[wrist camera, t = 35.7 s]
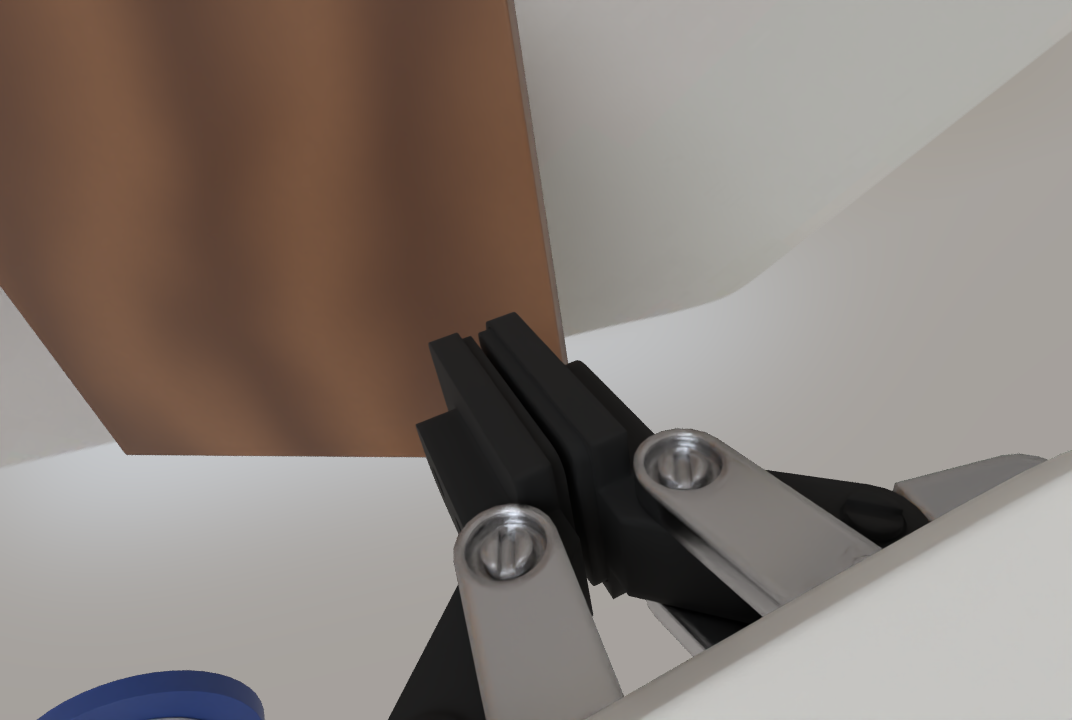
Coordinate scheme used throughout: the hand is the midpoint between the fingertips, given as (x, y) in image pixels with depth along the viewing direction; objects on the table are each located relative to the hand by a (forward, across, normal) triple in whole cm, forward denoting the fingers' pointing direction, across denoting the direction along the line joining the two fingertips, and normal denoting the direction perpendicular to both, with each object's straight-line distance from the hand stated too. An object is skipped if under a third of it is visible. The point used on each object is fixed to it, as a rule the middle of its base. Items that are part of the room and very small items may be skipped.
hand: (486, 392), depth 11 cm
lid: (+10, +4, 0) cm, 10 cm away
